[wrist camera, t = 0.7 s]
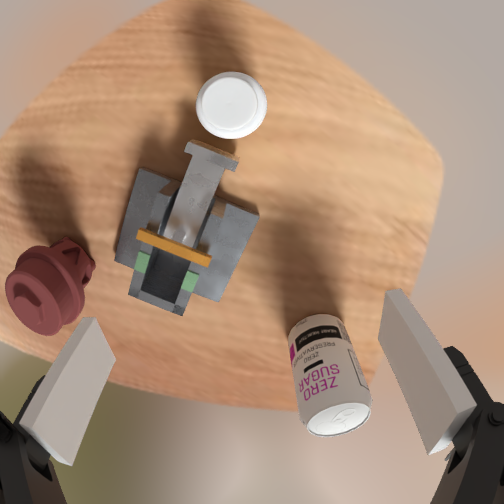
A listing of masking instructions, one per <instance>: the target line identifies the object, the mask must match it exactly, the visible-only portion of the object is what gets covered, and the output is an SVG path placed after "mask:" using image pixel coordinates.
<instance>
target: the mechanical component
mask: <svg viewBox="0 0 504 504" xmlns="http://www.w3.org/2000/svg"><path fill="white" fill-rule="evenodd" d="M95 267H96V265H95V263H94V261H93V260H91V259H89V258H88V256H87V254H86V253H85V251H84V250H83V249H82V248H81V247H80V246H79V245H77V244H76V243H74V242H72V241H71V239H70V238H68V237H64V238H63V239H62V240H59V241H57V242H55V243H54V244H53V245H52V246H51V247H45V246H33V247H31V248H29V249H28V250H26V251H25V252H24V253H23V254H21V256H20V257H19V258H18V260H17V263H16V267H15V270H14V271H13V272H11V273H10V274H9V275H8V277H7V279H6V283H5V291H6V296H7V299H8V302H9V304H10V306H11V308H12V310H13V312H14V313H15V315H16V316H17V317H18V318H19V320H20V321H21V322H22V323H23V324H24V325H26V326H27V327H28V328H29V329H31V330H32V331H34V332H36V333H38V334H41V335H45V336H51V335H54V334H56V333H57V332H58V331H59V330H60V329H61V327H62V326H63V325H66V324H70V323H72V322H73V321H75V319H76V318H77V317H78V316H79V314H80V313H81V311H82V309H83V307H84V302H85V295H84V287H85V286H86V285H87V284H88V282H89V281H90V279H91V276H92V271H93V270H94V269H95Z"/></svg>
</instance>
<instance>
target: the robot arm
mask: <svg viewBox="0 0 504 504" xmlns="http://www.w3.org/2000/svg"><path fill="white" fill-rule="evenodd" d="M378 340H379V342H380V344H381V346H382V348H383V350H384V353H385V355H386V357H387V359H388V361H389V363H390V365H391V368H392V370H393V372H394V374H395V376H396V379H397V381H398V383H399V385H400V388H401V390H402V392H403V395H404V397H405V399H406V401H407V404H408V406H409V409H410V411H411V413H412V416H413V418H414V421H415V423H416V426H417V428H418V431H419V433H420V436H421V438H422V441H423V443H424V446H425V449H426V451H427V454H428V455H430V454H432V453H435V452H438V451H440V450H443V449H445V448H446V447H447V446H448V445H449V443H450V442H451V441H452V442H453V444H454V446H455V447H454V448H453V449H452V451H451V452H450V453H449V454H448V455H447V457H446V458H445V461H447V460H448V459H449V461H448V464H447V466H446V469H445V472H444V474H443V476H442V479H441V481H440V484H439V486H438V488H437V491H436V493H435V495H434V497H433V499H432V501H431V503H430V504H504V404H502V403H500V402H494V401H493V400H492V399H491V397H490V396H489V394H488V392H487V391H486V389H485V388H484V386H483V384H482V383H481V381H480V379H479V378H478V376H477V375H476V373H475V372H474V370H473V369H472V367H471V366H470V365H469V363H468V361H467V360H466V358H465V357H464V355H463V354H462V353H461V352H460V351H458V350H457V349H456V348H455V347H453V346H450V347H447V348H444V349H443V348H442V346H441V345H440V343H439V342H438V340H437V339H436V338H435V336H434V335H433V333H432V332H431V330H430V329H429V327H428V326H427V324H426V323H425V321H424V320H423V318H422V317H421V316H420V314H419V313H418V311H417V310H416V309H415V307H414V306H413V304H412V303H411V302H410V300H409V299H408V298H407V296H406V295H405V293H404V292H403V291H402V289H395V290H388V291H385V298H384V305H383V312H382V318H381V324H380V330H379V336H378ZM115 360H116V358H115V357H114V355H113V353H112V351H111V349H110V347H109V345H108V343H107V341H106V339H105V337H104V335H103V332H102V330H101V328H100V326H99V324H98V322H97V320H96V317H83V319H82V320H81V321H80V323H79V324H78V326H77V327H76V329H75V330H74V332H73V333H72V335H71V336H70V338H69V339H68V341H67V342H66V344H65V345H64V347H63V349H62V350H61V352H60V353H59V355H58V356H57V358H56V360H55V361H54V363H53V364H52V366H51V368H50V369H49V371H48V373H47V374H46V375H44V376H43V377H42V378H41V379H40V380H39V381H37V382H36V384H35V386H34V387H33V389H32V393H30V394H29V396H28V400H26V402H25V403H24V405H23V407H22V409H21V410H20V412H19V414H18V416H17V418H16V420H15V422H14V423H13V424H12V423H11V422H10V421H9V420H8V419H7V418H6V416H5V415H4V414H3V413H2V412H1V411H0V504H67V503H66V500H65V497H64V495H63V492H62V490H61V487H60V485H59V481H58V479H57V476H56V473H55V470H54V466H53V464H52V462H51V461H50V460H49V458H50V455H52V456H53V457H54V458H55V459H56V460H57V461H59V462H61V463H64V464H67V465H70V466H72V465H73V462H74V460H75V457H76V454H77V451H78V449H79V446H80V443H81V441H82V438H83V436H84V433H85V430H86V428H87V425H88V423H89V420H90V418H91V416H92V413H93V411H94V408H95V406H96V403H97V401H98V399H99V396H100V394H101V392H102V389H103V387H104V385H105V383H106V380H107V378H108V376H109V374H110V371H111V369H112V367H113V365H114V363H115Z"/></svg>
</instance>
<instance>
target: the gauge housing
mask: <svg viewBox="0 0 504 504" xmlns="http://www.w3.org/2000/svg"><path fill="white" fill-rule="evenodd" d="M181 184H182V182H180V181H177V180H175V179H172V178H170V177H167V176H165V175H162V174H160V173H157V172H154V171H152V170H149V169H147V168H144V167H141V168H140V169H139V172H138V175H137V178H136V181H135V184H134V187H133V191H132V194H131V197H130V201H129V204H128V208H127V211H126V215H125V219H124V222H123V226H122V230H121V234H120V238H119V242H118V246H117V251H116V255H115V259H114V261H116V262H118V263H121V264H123V265H125V266H128V267H130V268H133V269H134V273H133V277H132V281H131V285H130V289H129V293H128V295H130V296H133V297H135V298H137V299H140V300H142V301H145V302H147V303H150V304H152V305H155V306H157V307H160V308H162V309H165V310H167V311H170V312H172V313H175V314H178V315H180V316H183V313H184V311H185V308H186V306H187V303H188V301H189V298H190V296H191V293H195V294H197V295H200V296H203V297H205V298H208V299H211V300H213V301H216V302H219V300H220V298H221V296H222V294H223V292H224V290H225V288H226V286H227V284H228V282H229V280H230V277H231V275H232V273H233V271H234V269H235V267H236V265H237V263H238V261H239V259H240V257H241V255H242V253H243V250H244V248H245V246H246V244H247V242H248V240H249V238H250V236H251V234H252V232H253V230H254V228H255V226H256V224H257V222H258V219H259V217H260V216H259V214H258V213H255V212H253V211H251V210H248V209H246V208H244V207H241V206H239V205H236V204H234V203H232V202H229V201H227V200H224V199H222V198H220V197H217V196H215V195H214V196H213V198H212V200H211V203H210V205H209V208H208V210H207V212H206V215H205V217H204V220H203V222H202V225H201V227H200V230H199V232H198V235H197V237H196V240H195V242H194V245H193V247H192V248H194V249H196V250H199V251H201V252H204V253H206V254H209V255H211V256H212V259H211V261H210V263H209V266H208V268H207V267H205V266H202V265H200V264H197V263H195V262H192V261H190V260H187V259H185V258H182V257H180V256H177V255H175V254H172V253H170V252H167V251H165V250H162V249H160V248H157V247H155V246H152V245H150V244H147V243H145V242H143V241H140V240H138V239H136V237H137V233H138V230H139V228H140V227H142V228H144V229H147V230H149V231H152V232H154V233H157V234H159V235H162V236H163V235H164V232H165V229H166V226H167V223H168V220H169V217H170V214H171V212H172V209H173V206H174V203H175V200H176V198H177V195H178V192H179V190H180V187H181Z"/></svg>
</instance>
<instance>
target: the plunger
mask: <svg viewBox="0 0 504 504" xmlns="http://www.w3.org/2000/svg"><path fill="white" fill-rule="evenodd" d="M184 152H186V153H189V154H191V155H193V156H192V159H191V161H190V164H189V166H188V169H187V171H186V174H185V177H184V179H183V182H182V184H181V187H180V190H179V192H178V195H177V198H176V200H175V203H174V206H173V209H172V212H171V214H170V217H169V220H168V223H167V226H166V229H165V232H164V235H163V236H162V235H159V234H157V233H154V232H152V231H149V230H147V229H144V228H142V227H140V228H139V230H138V233H137V237H136V239H138V240H140V241H143V242H145V243H147V244H150V245H152V246H155V247H157V248H160V249H162V250H165V251H167V252H170V253H172V254H175V255H177V256H180V257H182V258H185V259H187V260H190V261H192V262H195V263H197V264H200V265H202V266H205V267H207V268H208V266H209V263H210V261H211V259H212V256H211V255H209V254H206V253H204V252H201V251H199V250H196V249H194V248H192V247H193V245H194V242H195V240H196V237H197V235H198V232H199V230H200V227H201V225H202V222H203V220H204V217H205V215H206V212H207V210H208V208H209V205H210V203H211V200H212V198H213V196H214V193H215V191H216V189H217V186H218V184H219V182H220V179H221V177H222V175H223V172H224V170H225V168H226V169H228V170H231V171H233V172H235V169H236V167H237V165H238V163H239V159H240V157H238V156H236V155H233V154H231V153H228V152H226V151H224V150H221V149H219V148H216V147H214V146H211V145H209V144H206V143H204V142H201V141H199V140H196V139H194V140H191V141H188V143H187V145H186V148H185V150H184Z"/></svg>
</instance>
